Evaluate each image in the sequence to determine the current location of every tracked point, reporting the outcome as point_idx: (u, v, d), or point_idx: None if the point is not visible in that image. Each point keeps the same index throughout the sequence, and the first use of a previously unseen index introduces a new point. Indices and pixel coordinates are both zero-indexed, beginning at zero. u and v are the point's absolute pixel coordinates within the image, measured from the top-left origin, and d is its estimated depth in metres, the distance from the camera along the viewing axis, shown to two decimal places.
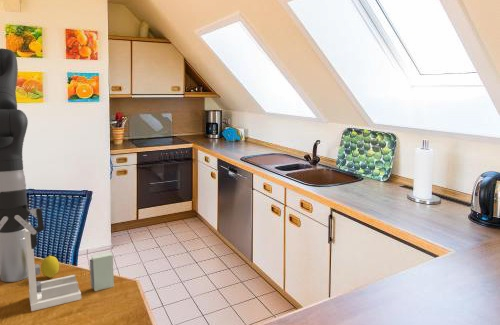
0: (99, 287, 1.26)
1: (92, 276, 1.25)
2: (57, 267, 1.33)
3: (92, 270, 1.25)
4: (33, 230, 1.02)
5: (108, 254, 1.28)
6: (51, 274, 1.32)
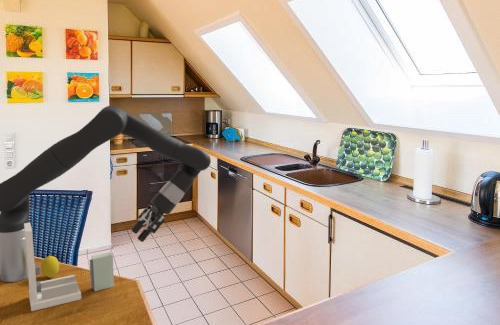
0: (99, 287, 1.26)
1: (92, 276, 1.25)
2: (57, 267, 1.33)
3: (92, 270, 1.25)
4: None
5: (108, 254, 1.28)
6: (51, 274, 1.32)
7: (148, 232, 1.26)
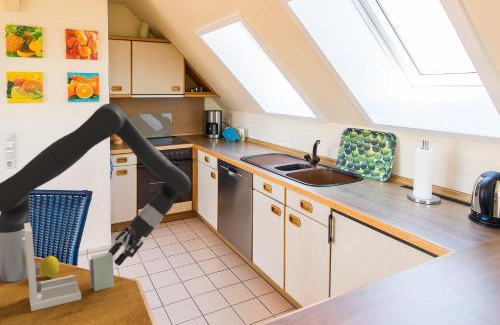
0: (99, 287, 1.26)
1: (92, 276, 1.25)
2: (57, 267, 1.33)
3: (92, 270, 1.25)
4: None
5: (108, 254, 1.28)
6: (51, 274, 1.32)
7: (125, 256, 1.25)
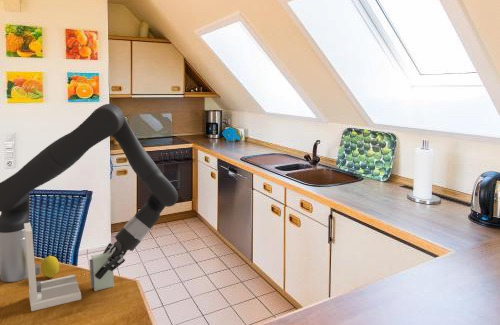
0: (99, 287, 1.27)
1: (92, 276, 1.25)
2: (57, 267, 1.33)
3: (92, 270, 1.25)
4: None
5: (108, 254, 1.28)
6: (51, 274, 1.32)
7: (105, 269, 1.26)
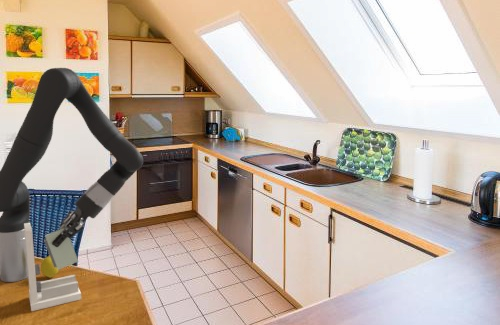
0: (62, 265, 1.20)
1: (51, 255, 1.18)
2: None
3: (49, 249, 1.17)
4: None
5: (62, 230, 1.19)
6: (51, 274, 1.32)
7: (63, 237, 1.18)
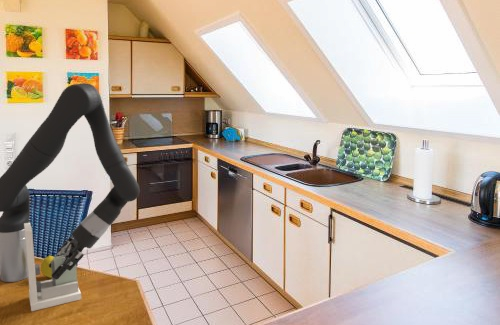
0: None
1: (53, 278, 1.19)
2: None
3: None
4: None
5: None
6: (51, 274, 1.32)
7: (63, 269, 1.16)
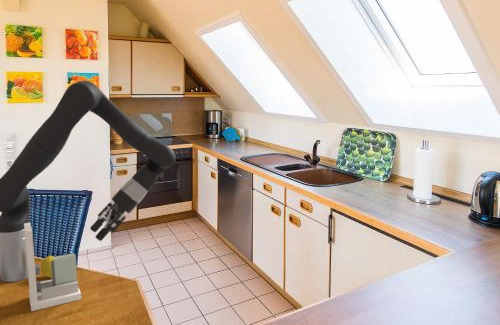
0: None
1: (53, 278, 1.19)
2: None
3: (53, 272, 1.19)
4: None
5: (71, 255, 1.21)
6: (51, 274, 1.32)
7: (107, 231, 1.21)
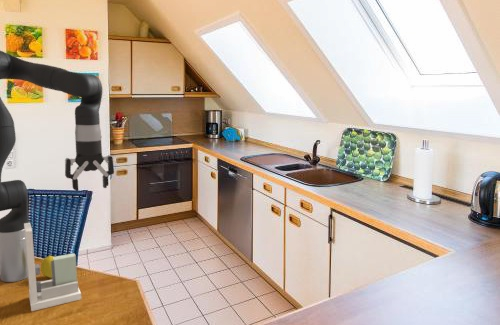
0: None
1: (53, 278, 1.19)
2: None
3: (53, 272, 1.19)
4: (106, 173, 1.27)
5: (71, 255, 1.21)
6: (51, 274, 1.32)
7: (72, 179, 1.23)
